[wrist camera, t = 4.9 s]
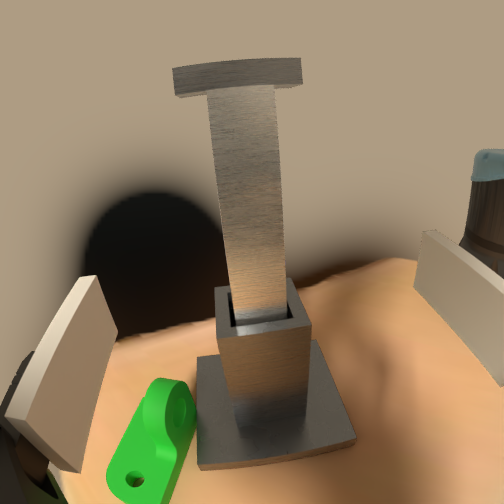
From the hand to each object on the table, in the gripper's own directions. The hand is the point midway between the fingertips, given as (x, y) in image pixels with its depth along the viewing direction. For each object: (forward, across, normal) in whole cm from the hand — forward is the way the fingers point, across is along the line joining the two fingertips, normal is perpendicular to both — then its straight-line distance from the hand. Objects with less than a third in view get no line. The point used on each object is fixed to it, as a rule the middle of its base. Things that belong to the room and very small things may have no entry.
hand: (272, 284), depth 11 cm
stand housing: (+9, 0, -20) cm, 22 cm away
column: (+9, 0, -18) cm, 20 cm away
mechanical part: (+4, -12, -21) cm, 24 cm away
